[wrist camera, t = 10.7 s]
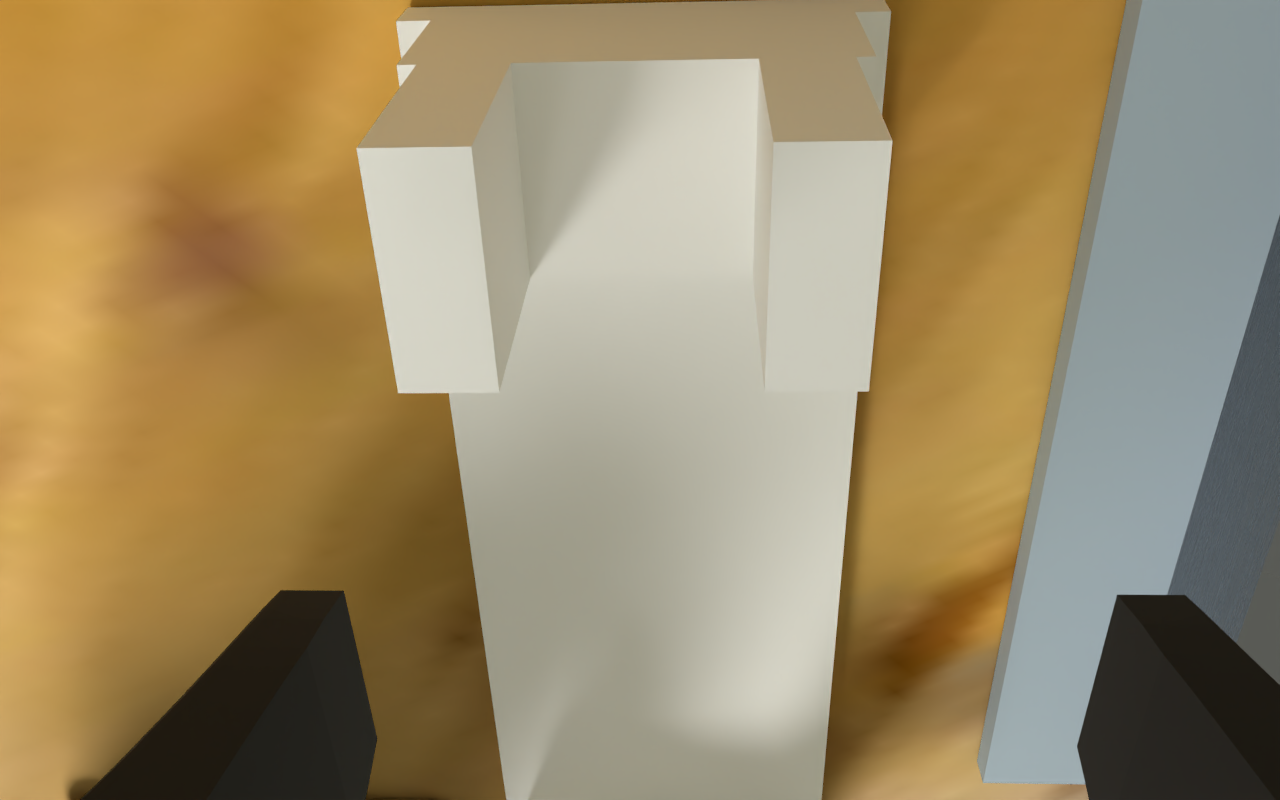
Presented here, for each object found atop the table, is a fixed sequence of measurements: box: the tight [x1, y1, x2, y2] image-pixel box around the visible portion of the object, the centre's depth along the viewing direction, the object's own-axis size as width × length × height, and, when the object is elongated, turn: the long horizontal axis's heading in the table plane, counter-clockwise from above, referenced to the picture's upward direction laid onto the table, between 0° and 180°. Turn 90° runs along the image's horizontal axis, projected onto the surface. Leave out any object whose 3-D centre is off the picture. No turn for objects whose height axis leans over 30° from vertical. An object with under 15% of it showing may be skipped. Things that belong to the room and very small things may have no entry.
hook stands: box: [357, 0, 893, 800], centre depth 19 cm, size 7×20×6 cm, turn 2°
